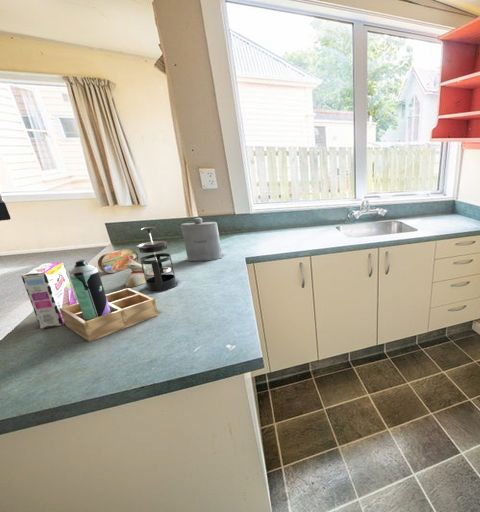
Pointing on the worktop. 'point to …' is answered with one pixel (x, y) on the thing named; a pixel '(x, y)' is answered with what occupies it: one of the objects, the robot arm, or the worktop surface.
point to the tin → (117, 260)
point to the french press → (157, 265)
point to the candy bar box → (49, 293)
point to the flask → (201, 240)
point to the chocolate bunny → (135, 274)
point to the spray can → (89, 290)
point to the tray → (111, 314)
